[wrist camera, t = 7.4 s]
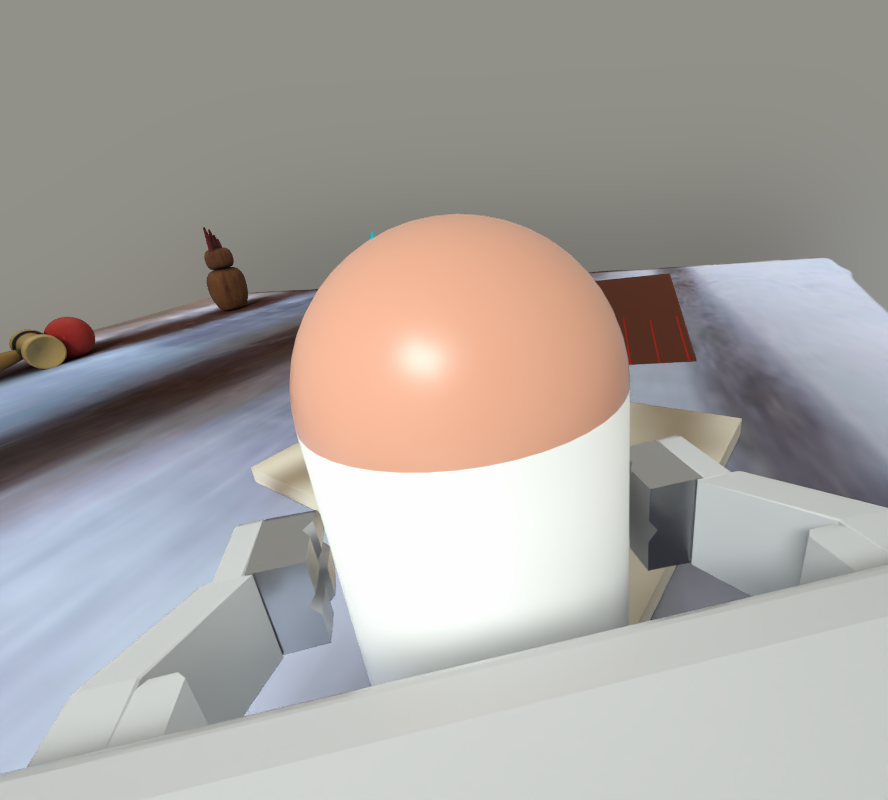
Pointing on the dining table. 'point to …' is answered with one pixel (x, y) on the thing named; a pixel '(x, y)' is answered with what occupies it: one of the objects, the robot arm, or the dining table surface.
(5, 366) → the kendama
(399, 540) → the peach-domed white capsule
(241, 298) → the wooden figurine
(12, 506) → the dining table surface
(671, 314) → the roof
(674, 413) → the jig board
